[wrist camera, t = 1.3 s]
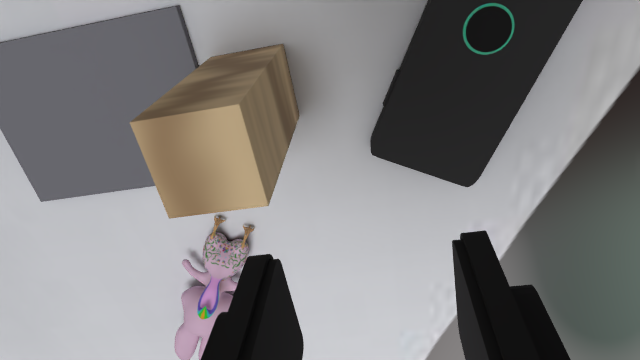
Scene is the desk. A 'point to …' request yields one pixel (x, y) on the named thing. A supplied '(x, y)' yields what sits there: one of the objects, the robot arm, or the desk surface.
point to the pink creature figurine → (209, 290)
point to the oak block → (221, 133)
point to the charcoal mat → (89, 99)
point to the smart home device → (466, 82)
